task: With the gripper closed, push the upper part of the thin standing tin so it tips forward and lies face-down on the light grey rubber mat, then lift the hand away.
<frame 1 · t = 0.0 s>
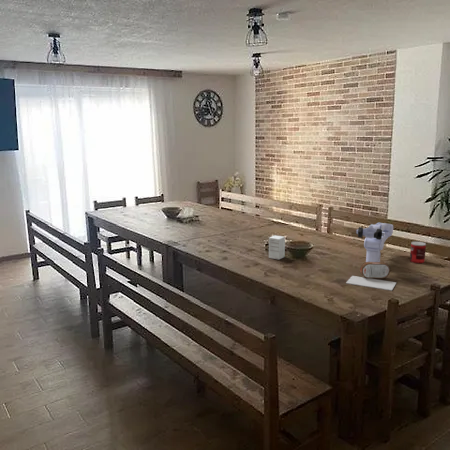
hand: (366, 234, 234), 22 cm above the table, tool horizontal, fingers open, 7 cm apart
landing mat: (371, 283, 225), on the table
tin: (374, 278, 232), on the table, touching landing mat
supplement box: (276, 257, 272), on the table
canned food: (417, 261, 260), on the table
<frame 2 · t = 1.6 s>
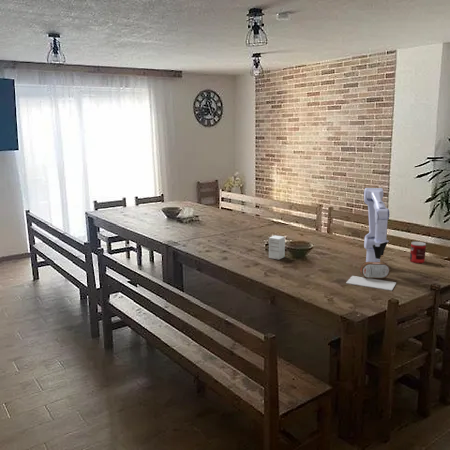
hand: (379, 256, 238), 9 cm above the table, tool pointing down, fingers open, 7 cm apart
nothing on the table moved.
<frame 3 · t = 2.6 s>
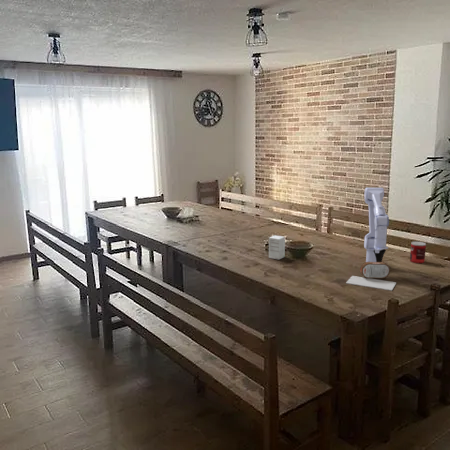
hand: (378, 263, 239), 6 cm above the table, tool pointing down, fingers closed
nothing on the table moved.
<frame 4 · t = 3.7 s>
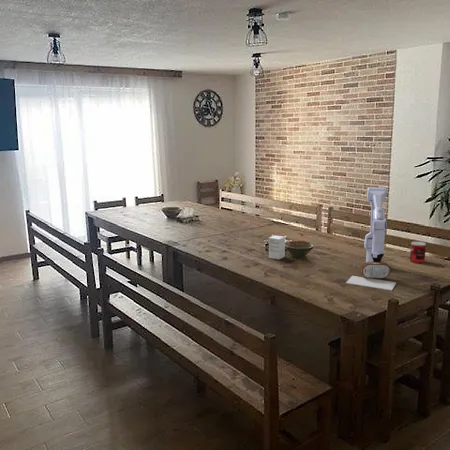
hand: (376, 267, 234), 5 cm above the table, tool pointing down, fingers closed
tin: (374, 278, 232), on the table, touching gripper, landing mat
everything else where it was.
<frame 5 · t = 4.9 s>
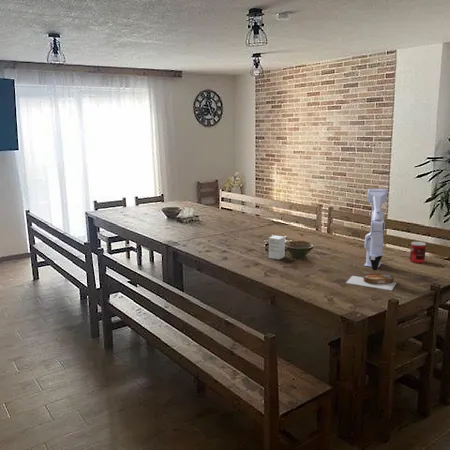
hand: (374, 269, 230), 5 cm above the table, tool pointing down, fingers closed
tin: (375, 276, 231), point 1 cm above the table, touching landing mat
everything else where it was.
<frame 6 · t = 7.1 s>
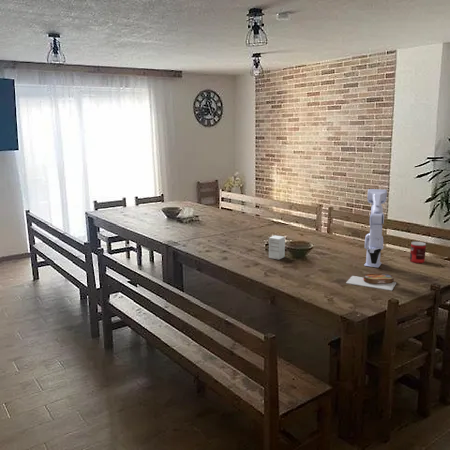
hand: (373, 263, 227), 9 cm above the table, tool pointing down, fingers closed
nothing on the table moved.
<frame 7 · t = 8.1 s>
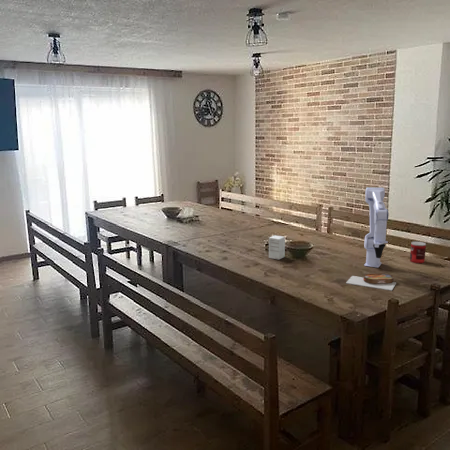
hand: (378, 257, 236), 9 cm above the table, tool pointing down, fingers closed
nothing on the table moved.
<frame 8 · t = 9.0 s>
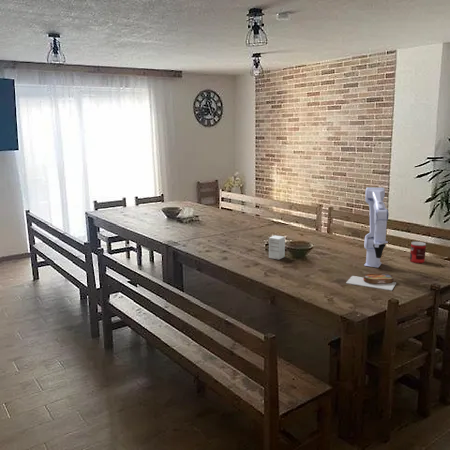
hand: (378, 257, 236), 9 cm above the table, tool pointing down, fingers closed
nothing on the table moved.
at the end: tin tilted 86°; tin inside the target area (2.3 cm from its centre), point 1.4 cm above the table; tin touching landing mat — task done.
